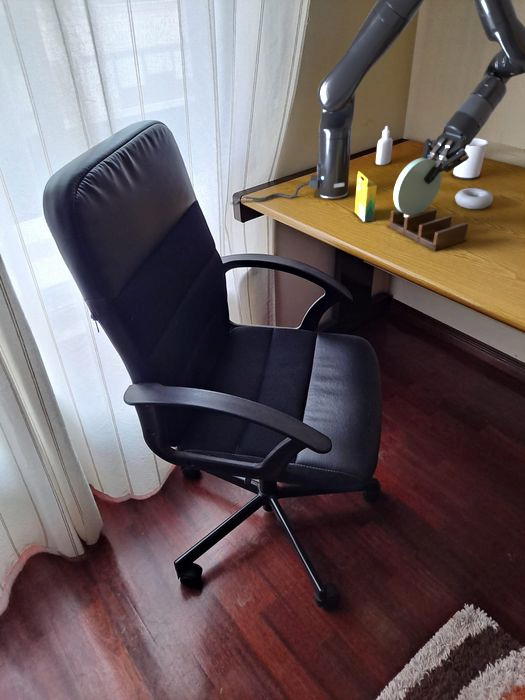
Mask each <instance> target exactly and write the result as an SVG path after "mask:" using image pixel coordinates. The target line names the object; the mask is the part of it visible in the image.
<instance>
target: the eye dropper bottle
mask: <svg viewBox="0 0 525 700" xmlns="http://www.w3.org/2000/svg"><path fill="white" fill-rule="evenodd" d="M381 132H382V134H381V138H380V139H379V140H378V141H377V146H376V155H375V165H378V166H385V165H388V164H389V163H391V161H392V152H393V141H394V140H393V138H392V137H390V135H391V130H390V129H389V126H388V125H386V126H385V127H384V129H383V130H382V131H381Z"/></svg>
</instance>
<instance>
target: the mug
mask: <svg viewBox="0 0 525 700" xmlns="http://www.w3.org/2000/svg"><path fill="white" fill-rule="evenodd" d="M488 144H489V141H488V140H487V139H483V138H479V137H475V138H474V139H473V140H472V142H471V143H470V144H469V145H467V146H466V149H465V151H466V153H467V154H468V156H469V158H468V159H467V160H466V161H464V162H463V163H461V164H460V165H458V166H457V167H455V168H454V169H452V175H453V177H455V178H456V179H459V180H469V181H470V180H476V179H478V178H479V177H480V174H481V171H482V166H483V163H484V159H485V156H486V155H485V154H486V151H487V148H488Z"/></svg>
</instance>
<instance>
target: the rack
mask: <svg viewBox="0 0 525 700" xmlns="http://www.w3.org/2000/svg"><path fill="white" fill-rule="evenodd" d="M437 215H438V208H437V209H436V208H432V209H428V210H424V211H423V212H422V213H419V214H415V215H412V216H409V217H406V218H405V217H404V214H403V213H401V212H400V211H398V210H397V208H396V209H393V210H391V211H390V219H389V228H390V229H392V230H394V231H396V232H398V233H400V234H402V235H403V236H406V237H407V238H409V239H412V240H413V241H415V242H417V243H419V244H421V245H422V246H425V247H427V248H429V249H431V250H432V251H434V252H436V251H438V250H441V249H444V248H447V247H451V246H453V245H456V244H458V243H461V242H464V241H465V240H466V236H467V231H468V227H469V223H468V222H466V221H465V222H462V223H459V224H456V225H453V226H451V225H452V221H453V215H450V214H449V215H446V216H443V217H442V216H441V217H439V218H437ZM432 239H433V240H432Z"/></svg>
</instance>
